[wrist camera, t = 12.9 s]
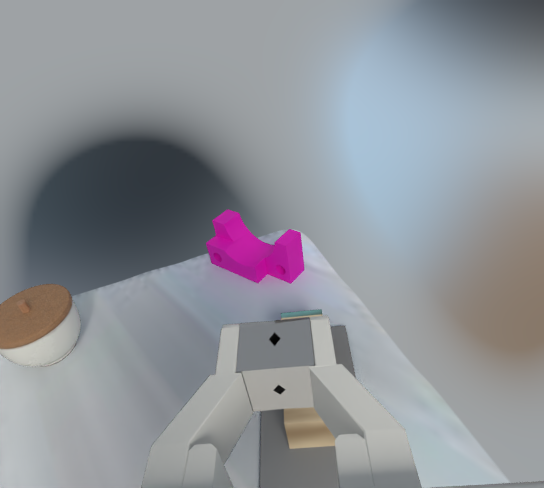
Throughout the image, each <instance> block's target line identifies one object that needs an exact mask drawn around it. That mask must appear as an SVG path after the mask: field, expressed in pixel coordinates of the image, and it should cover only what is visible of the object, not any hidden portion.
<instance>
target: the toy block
mask: <svg viewBox="0 0 544 488" xmlns="http://www.w3.org/2000/svg"><path fill="white" fill-rule="evenodd" d="M212 221H213V225H214V228H215V232H216V236H215V237H213V238H212V239H211V240H209V241H208V242H207V243H206V245H207V249H208V252H209V255H210V259H211V262H212V264H215V265H217V266H219V267H222V268H224V269H226V270H229V271H231V272H233V273H235V274H238V275H240V276H242V277H245V278H247V279H249V280H252V281H254V282H256V283H259V282H260V281H261V280H262V279H263V278H264V277H265V276H266V275H267V274H269V275H271V276H274V277H276V278H279V279H281V280H283V281H286V282H288V283H292V282H293V281H294V280H295V279H296V278H297V277H298V276H299V275H300V274H301V273H302V272H303V271H304V262H303V252H302V243H301V233H300V232H297V231H294V230H291V229H289V230H288V231H287V232H286V233H284V234H283V235H282V236H281V237H280V238H279V239H278V240H277V241H276V242H275V245H270V244H267V243H264V242H262V241H261V240H259V239H258V238H256V237H255V236H254V235H253V234H252V233H251V232H250V231H249V230H248V229H247V227H246V226H245V225H244V223H243V221H242V219H241V217H240V214H239V213H237V212H234V211H231V210H226V211H225V212H223V213H222V214H221V215H220V216H218V217H216V218H215V219H214V220H212Z"/></svg>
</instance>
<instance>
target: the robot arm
mask: <svg viewBox="0 0 544 488" xmlns="http://www.w3.org/2000/svg"><path fill="white" fill-rule="evenodd" d="M309 407H314V409H315V411H316V412H317V413H318V415H319V416H320V418H321V419H322V420H323V422H324V423H325V425H326V426H327V428H328V429H329V430H330V432H331V433H332V435H333V436H334V437H335V439H336V440H335V453H336V468H337V483H338V488H422V487H421V484H420V480H419V477H418V473H417V470H416V466H415V463H414V459H413V456H412V452H411V449H410V445H409V442H408V438H407V435H406V431H405V429H404V428H403V427H402V426H401V425H400V423H399V422H398V421H397V420H396V419H395V418H394V417H393V416H392V415H391V414H390V413H389V412H388V411H387V410H386V409H385V408H384V407H383V406H382V405H381V404H380V403H379V402H378V401H377V400H376V399H375V398H374V397H373V396H372V395H371V394H370V392H369V391H368V390H367V389H366V388H365V387H364V386H363V385H362V384H361V383H360V382H359V381H358V380H357V379H356V378H355V377H354V376H353V375H352V374H351V373H350V372H349V371H348V370H347V369H346V368H345V367H344V366H343V365H342V364H336V358H335V352H334V346H333V340H332V334H331V327H330V321H329V317H328V315H325V316H315V317H303V318H294V319H284V320H275V321H266V322H252V323H240V324H226V325H223V327H222V329H221V334H220V342H219V349H218V356H217V364H216V371H215V374H214V375H209V377H208V378H207V379H206V380H205V381H204V383H203V384H202V385H201V386H200V388H199V389H198V390H197V391H196V392H195V394H194V395H193V396H192V397H191V398H190V400H189V401H188V402H187V403H186V405H185V406H184V407H183V408H182V409H181V411H180V412H179V413H178V414H177V415H176V417H175V418H174V419H173V420H172V422H171V423H170V424H169V425H168V426H167V428H166V429H165V430H164V431H163V432H162V434H161V435H160V436H159V437H158V439H157V440H156V441H155V442H154V443H153V445H152V446H151V450H150V454H149V458H148V462H147V466H146V470H145V474H144V478H143V482H142V486H141V488H234V487H233V485H232V482H231V480H230V478H229V476H228V473H227V471H226V469H225V466H224V464H225V462H226V461H227V459H228V457H229V455H230V454H231V452H232V450H233V449H234V447H235V445H236V443H237V442H238V440H239V438H240V436H241V435H242V433H243V431H244V429H245V428H246V426H247V424H248V422H249V421H250V419H251V417H252V415H253V412H256V411H266V410H276V409H288V408H309ZM432 488H544V481H538V482H522V483H521V482H520V483H502V484H485V485H468V486H450V487H432Z"/></svg>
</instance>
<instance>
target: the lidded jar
mask: <svg viewBox="0 0 544 488" xmlns="http://www.w3.org/2000/svg"><path fill="white" fill-rule="evenodd" d="M80 329H81V320H80V315H79V312H78V309H77V307H76V305H75V303H74V301H73V300H72V297H71V295H70V293H69V291H68V290H67V289H66V288H65V287H63V286H60V285H56V284H44V285H39V286H35V287H31V288H29V289H27V290H24V291H21V292H20V293H17V294H16V295H14V296H12V297H10V298H9V299H7V300H6V301H4V302H3V303H2V304H0V354H1V355H2V356H3V357H5V358H6V359H8V360H9V361H11V362H13V363H15V364H18V365H21V366H27V367H36V366H49V365H52V364H55V363H57V362H59V361H61V360H62V359H64V358H65V357H66V356H67V355H68V354H69V353H70V352H71V351H72V350H73V348H74V347H75V344H76V341H77V339H78V337H79V334H80Z"/></svg>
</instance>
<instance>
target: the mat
mask: <svg viewBox="0 0 544 488" xmlns="http://www.w3.org/2000/svg"><path fill="white" fill-rule="evenodd" d="M331 334H332V340H333V346H334V352H335V358H336V364H342V365H343V366H344V367H345V368H346V369H347V370H348V371H349V372H350V373H351V374H352V375H353V376H354V377H355V372H354V367H353V362H352V357H351V352H350V347H349V342H348V338H347V333H346V328H345V326H335V327H331ZM355 378H356V377H355ZM260 488H338V483H337V468H336V453H335V446H325V447H310V448H295V449H290V448H289V443H288V439H287V434H286V429H285V425H284V409H276V410H266V411H261V453H260Z"/></svg>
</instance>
